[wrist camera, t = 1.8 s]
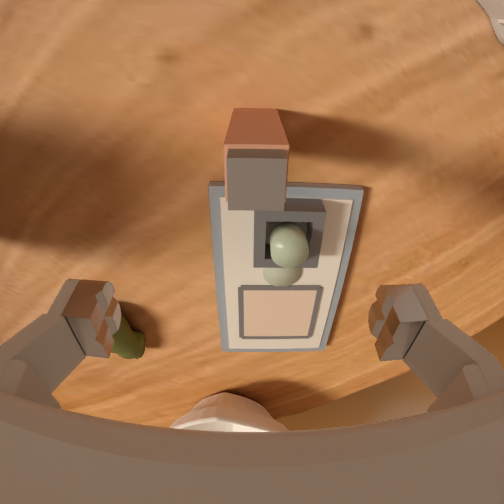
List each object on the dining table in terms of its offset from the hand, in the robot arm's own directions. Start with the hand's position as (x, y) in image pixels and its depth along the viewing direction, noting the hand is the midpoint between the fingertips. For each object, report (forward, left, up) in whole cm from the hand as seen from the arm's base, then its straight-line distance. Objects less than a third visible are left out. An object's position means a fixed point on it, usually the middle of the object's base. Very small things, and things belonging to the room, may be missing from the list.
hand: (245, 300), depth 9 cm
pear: (+17, +26, -20) cm, 37 cm away
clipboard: (-3, +17, -20) cm, 27 cm away
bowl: (+4, +48, -20) cm, 53 cm away
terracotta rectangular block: (0, 0, -20) cm, 20 cm away
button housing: (-3, +9, -19) cm, 21 cm away
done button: (-3, +9, -17) cm, 20 cm away
